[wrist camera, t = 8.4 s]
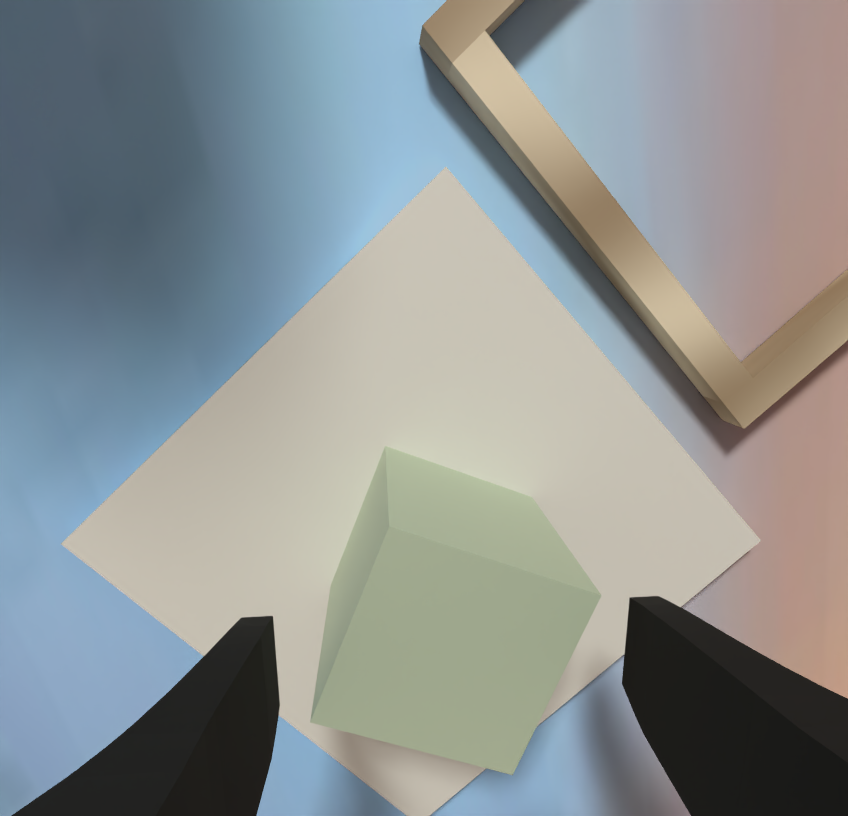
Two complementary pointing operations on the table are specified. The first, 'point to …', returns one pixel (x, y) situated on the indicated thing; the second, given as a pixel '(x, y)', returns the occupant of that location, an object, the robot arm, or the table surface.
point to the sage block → (448, 616)
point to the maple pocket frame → (623, 227)
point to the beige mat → (419, 436)
